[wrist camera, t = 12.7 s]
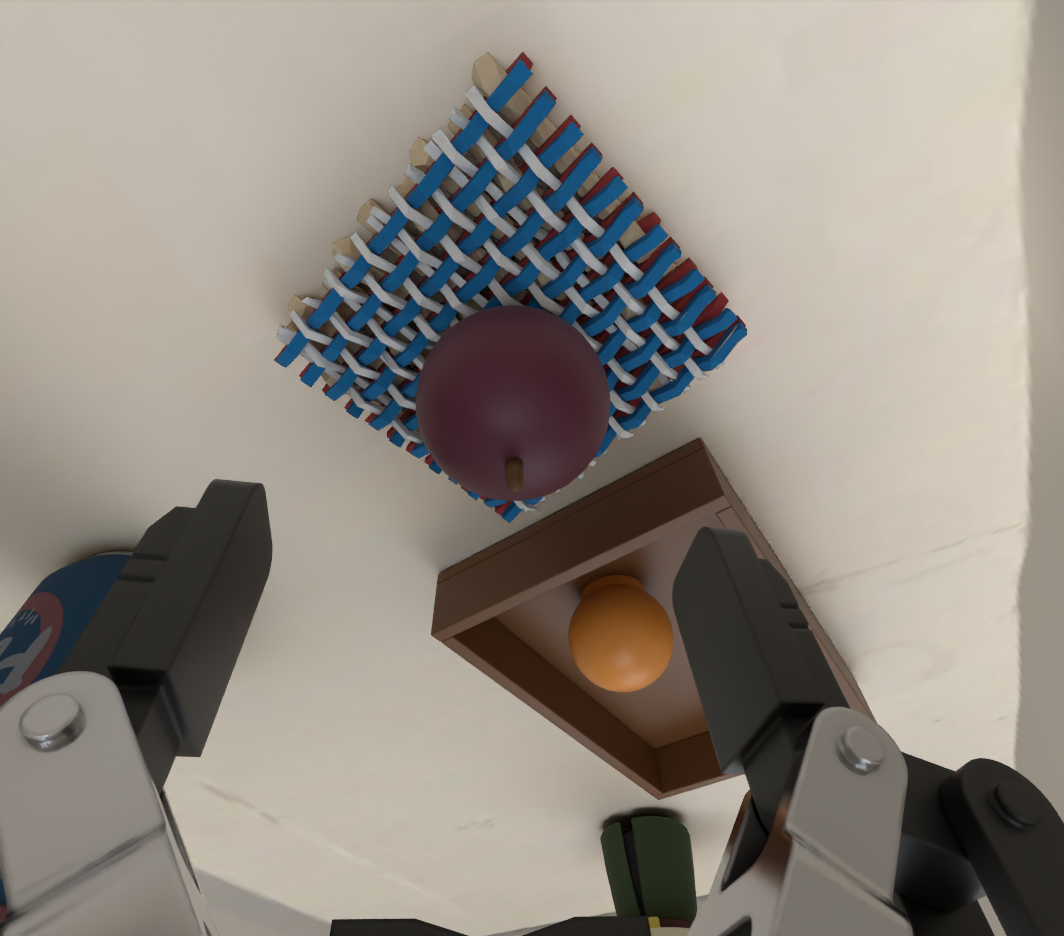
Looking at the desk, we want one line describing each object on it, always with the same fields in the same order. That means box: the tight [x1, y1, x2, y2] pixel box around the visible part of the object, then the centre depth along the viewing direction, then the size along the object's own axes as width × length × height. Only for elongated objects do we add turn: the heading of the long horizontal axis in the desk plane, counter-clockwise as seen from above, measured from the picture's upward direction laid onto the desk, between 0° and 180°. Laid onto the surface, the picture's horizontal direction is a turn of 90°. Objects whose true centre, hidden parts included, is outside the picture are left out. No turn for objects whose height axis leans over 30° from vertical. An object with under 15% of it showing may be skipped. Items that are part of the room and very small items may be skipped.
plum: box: [416, 305, 611, 501], centre depth 15 cm, size 5×5×6 cm
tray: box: [431, 439, 877, 800], centre depth 27 cm, size 19×12×3 cm, turn 35°
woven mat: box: [274, 52, 747, 523], centre depth 17 cm, size 10×11×2 cm
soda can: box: [0, 551, 133, 923], centre depth 21 cm, size 7×7×12 cm
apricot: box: [568, 575, 674, 692], centre depth 24 cm, size 4×4×4 cm
